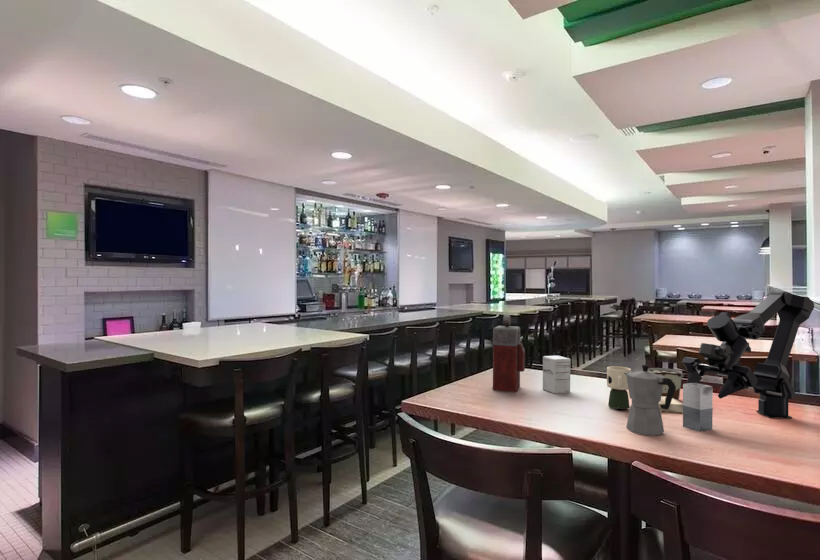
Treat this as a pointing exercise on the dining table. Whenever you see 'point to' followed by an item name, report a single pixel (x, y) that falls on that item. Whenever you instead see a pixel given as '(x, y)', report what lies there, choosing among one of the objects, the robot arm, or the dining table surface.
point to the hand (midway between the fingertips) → (702, 393)
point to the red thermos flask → (507, 357)
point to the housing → (697, 406)
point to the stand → (671, 405)
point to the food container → (671, 374)
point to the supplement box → (556, 374)
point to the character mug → (618, 387)
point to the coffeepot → (647, 401)
